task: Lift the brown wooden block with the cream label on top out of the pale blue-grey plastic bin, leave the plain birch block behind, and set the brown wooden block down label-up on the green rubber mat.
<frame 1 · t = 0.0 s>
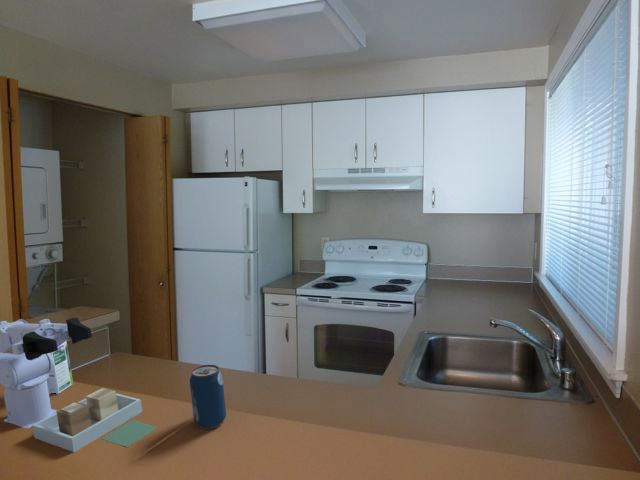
hand: (73, 339, 101), 22 cm above the countertop, tool horizontal, fingers open, 7 cm apart
bin: (90, 426, 108), on the countertop
birch block: (104, 416, 111), point 1 cm above the countertop, touching bin
brown wooden block: (76, 432, 105), point 1 cm above the countertop, touching bin
soda can: (210, 422, 107), on the countertop
mat: (130, 435, 103), on the countertop
syrup box: (56, 389, 128), on the countertop
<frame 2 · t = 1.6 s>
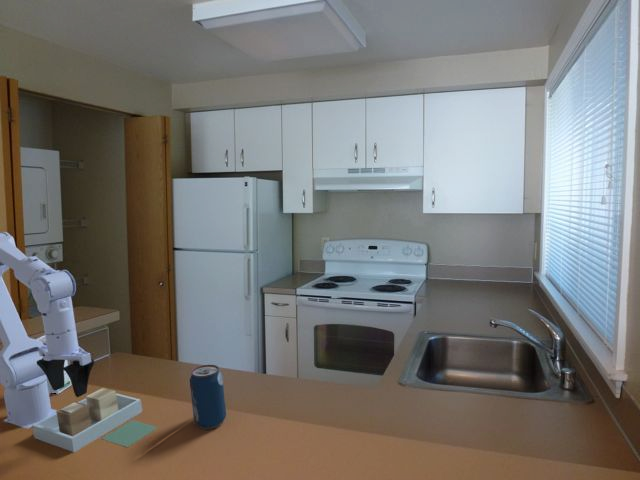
hand: (69, 391, 103), 10 cm above the countertop, tool pointing down, fingers open, 7 cm apart
nothing on the countertop moved.
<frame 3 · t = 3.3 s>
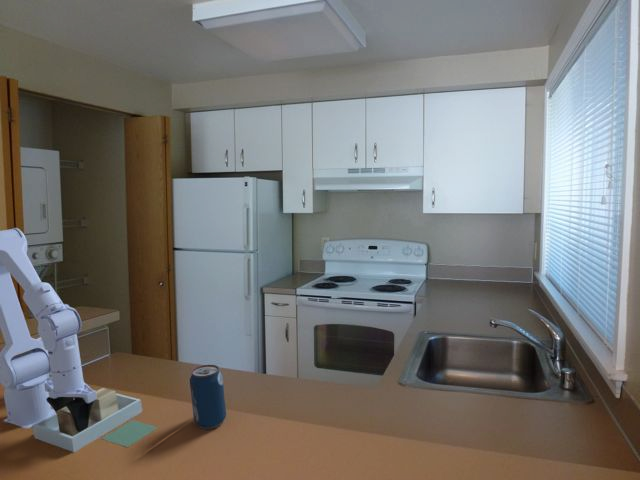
hand: (75, 426, 105), 2 cm above the countertop, tool pointing down, fingers closed on brown wooden block, 4 cm apart
brown wooden block: (76, 432, 105), point 1 cm above the countertop, touching bin, gripper
everything else where it was.
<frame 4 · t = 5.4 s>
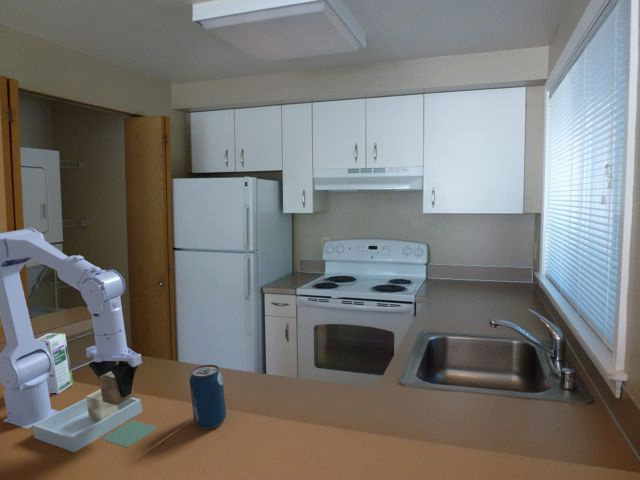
hand: (118, 393, 102), 10 cm above the countertop, tool pointing down, fingers closed on brown wooden block, 4 cm apart
brown wooden block: (118, 398, 102), point 8 cm above the countertop, touching gripper
everything else where it was.
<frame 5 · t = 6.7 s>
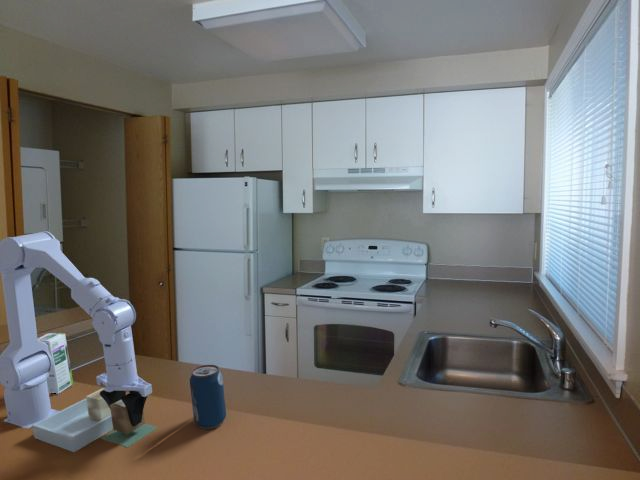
hand: (128, 421, 103), 3 cm above the countertop, tool pointing down, fingers closed on brown wooden block, 4 cm apart
brown wooden block: (129, 426, 103), point 2 cm above the countertop, touching gripper
everything else where it was.
when the fingers open (3 cm above the countertop, at t = 7.7 s): brown wooden block drops 1 cm, resting on mat.
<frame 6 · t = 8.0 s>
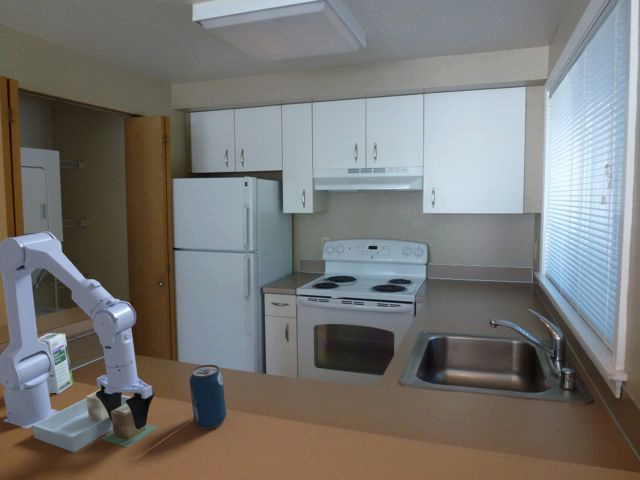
hand: (128, 423, 103), 3 cm above the countertop, tool pointing down, fingers open, 7 cm apart
brown wooden block: (129, 432, 103), point 1 cm above the countertop, touching mat
everything else where it was.
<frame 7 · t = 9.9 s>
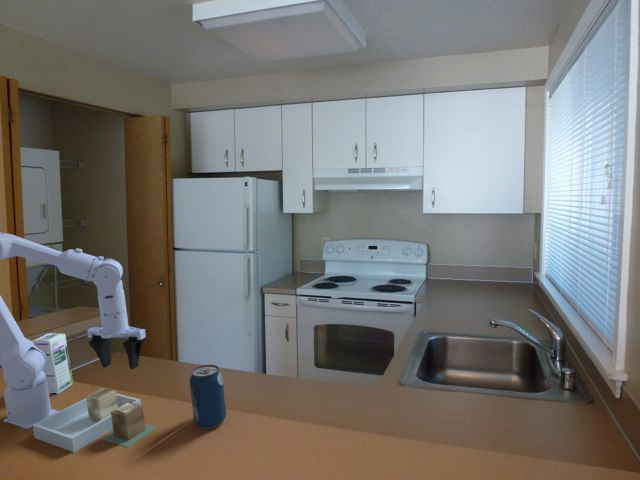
hand: (120, 366, 116), 9 cm above the countertop, tool pointing down, fingers open, 7 cm apart
nothing on the countertop moved.
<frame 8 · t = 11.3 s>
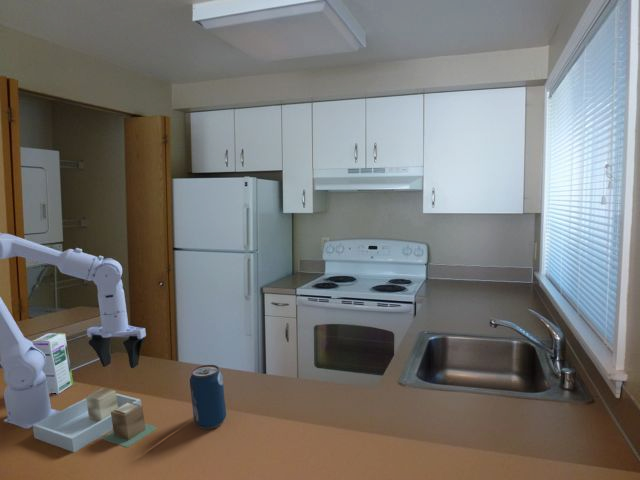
hand: (120, 365, 117), 9 cm above the countertop, tool pointing down, fingers open, 7 cm apart
nothing on the countertop moved.
at the end: brown wooden block 0.0 cm off-centre on the mat, point 0.6 cm above the mat's base; brown wooden block tilted 0°; birch block moved 0.1 cm from its start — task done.
